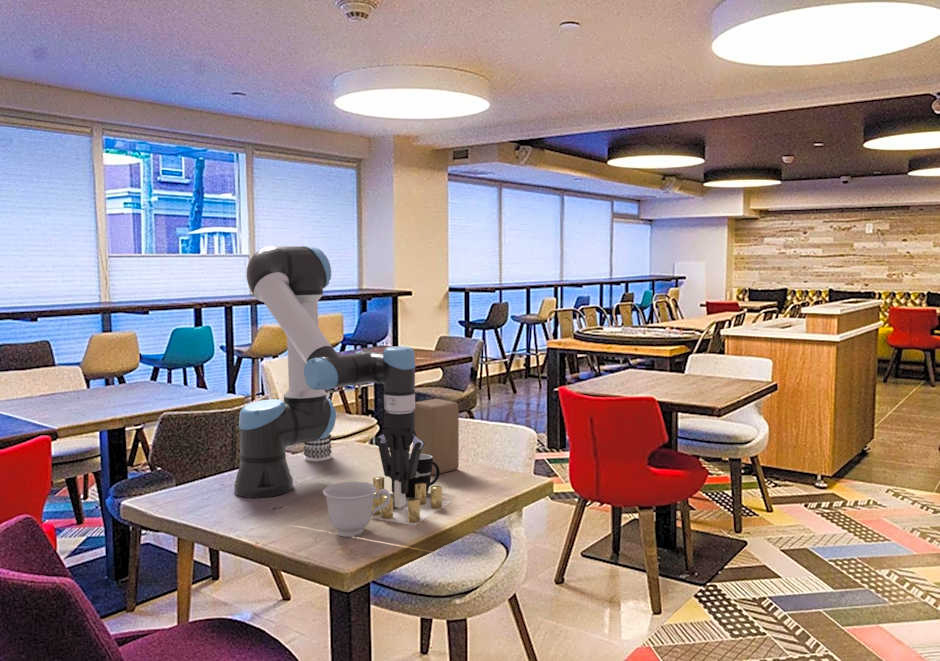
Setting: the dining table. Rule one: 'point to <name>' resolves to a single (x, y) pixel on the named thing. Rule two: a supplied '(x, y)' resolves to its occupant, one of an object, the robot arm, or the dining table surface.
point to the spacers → (412, 503)
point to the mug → (422, 474)
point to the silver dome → (393, 500)
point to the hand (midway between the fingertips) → (400, 505)
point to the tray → (402, 513)
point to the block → (439, 432)
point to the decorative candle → (318, 446)
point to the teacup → (352, 505)
